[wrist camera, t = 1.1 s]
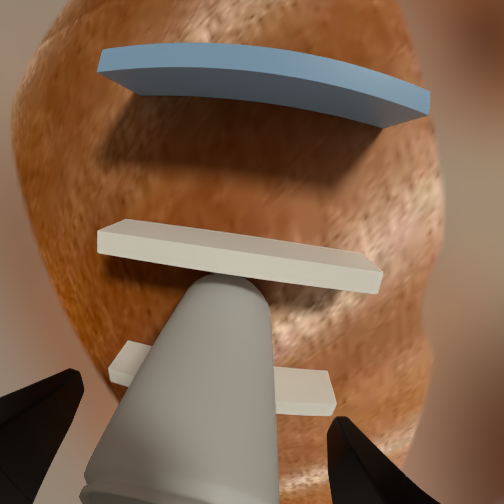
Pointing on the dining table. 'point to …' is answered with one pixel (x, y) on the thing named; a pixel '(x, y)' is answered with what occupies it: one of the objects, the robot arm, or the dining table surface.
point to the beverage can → (197, 408)
